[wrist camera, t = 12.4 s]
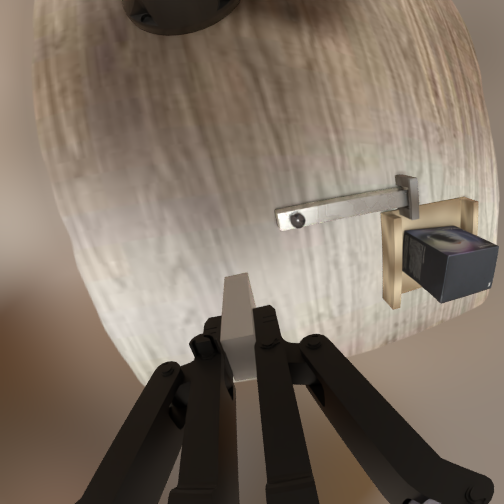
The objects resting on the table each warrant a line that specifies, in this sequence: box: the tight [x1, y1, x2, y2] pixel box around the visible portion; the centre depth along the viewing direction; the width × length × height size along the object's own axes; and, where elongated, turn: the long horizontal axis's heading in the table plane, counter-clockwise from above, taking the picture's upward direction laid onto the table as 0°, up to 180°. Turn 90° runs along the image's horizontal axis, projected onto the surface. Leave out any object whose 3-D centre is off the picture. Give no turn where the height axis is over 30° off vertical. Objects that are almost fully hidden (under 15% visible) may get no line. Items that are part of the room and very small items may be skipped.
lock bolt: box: [275, 187, 409, 231], centre depth 32 cm, size 2×18×3 cm, turn 102°
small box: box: [402, 226, 499, 303], centre depth 31 cm, size 11×6×10 cm, turn 96°
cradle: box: [381, 175, 478, 310], centre depth 33 cm, size 18×16×4 cm
